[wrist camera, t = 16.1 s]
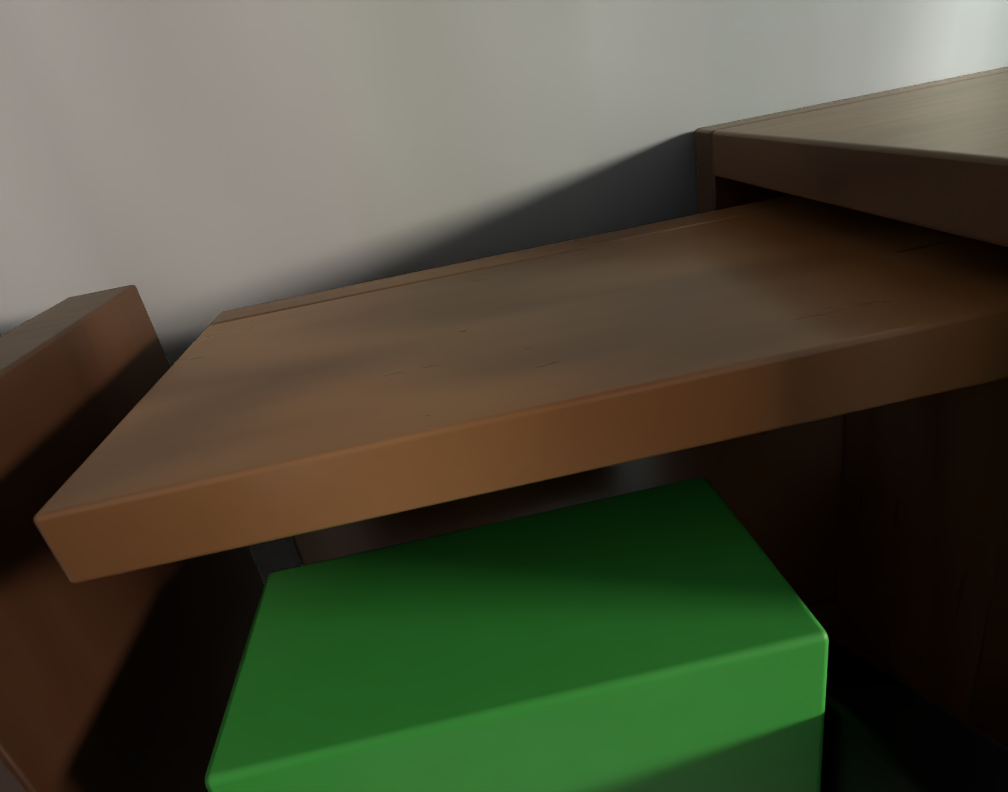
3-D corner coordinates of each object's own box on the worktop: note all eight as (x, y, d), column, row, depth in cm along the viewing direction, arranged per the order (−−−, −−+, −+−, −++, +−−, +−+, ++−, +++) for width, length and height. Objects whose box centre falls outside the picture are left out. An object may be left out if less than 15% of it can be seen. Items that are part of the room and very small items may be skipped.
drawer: (44, 789, 16) (-189, 1223, 10) (-273, 365, 11) (-1133, 696, 5) (836, 605, 17) (1082, 897, 11) (864, 135, 12) (1347, 171, 6)
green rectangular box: (715, 675, 11) (818, 872, 8) (346, 762, 11) (322, 996, 8) (705, 473, 10) (833, 634, 7) (266, 570, 9) (197, 783, 6)
